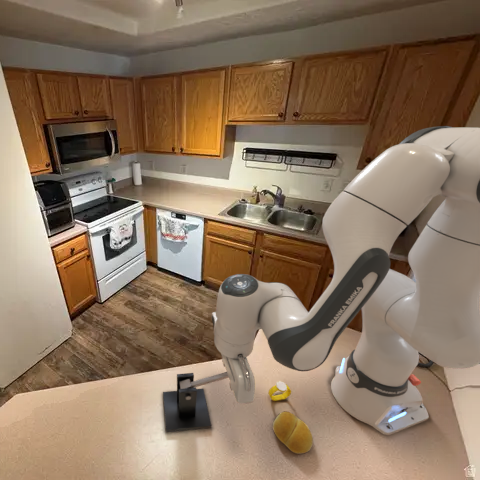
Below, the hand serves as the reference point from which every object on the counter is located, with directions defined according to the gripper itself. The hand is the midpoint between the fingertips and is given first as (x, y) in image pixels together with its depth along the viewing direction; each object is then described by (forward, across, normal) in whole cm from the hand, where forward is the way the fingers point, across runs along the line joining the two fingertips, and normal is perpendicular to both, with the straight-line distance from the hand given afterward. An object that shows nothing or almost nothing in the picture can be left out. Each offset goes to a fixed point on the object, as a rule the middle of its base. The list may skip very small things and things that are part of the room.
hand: (229, 375), depth 66 cm
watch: (+15, +1, -16) cm, 21 cm away
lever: (+2, 0, +5) cm, 6 cm away
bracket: (+14, 0, +12) cm, 18 cm away
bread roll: (+15, -8, -14) cm, 22 cm away
